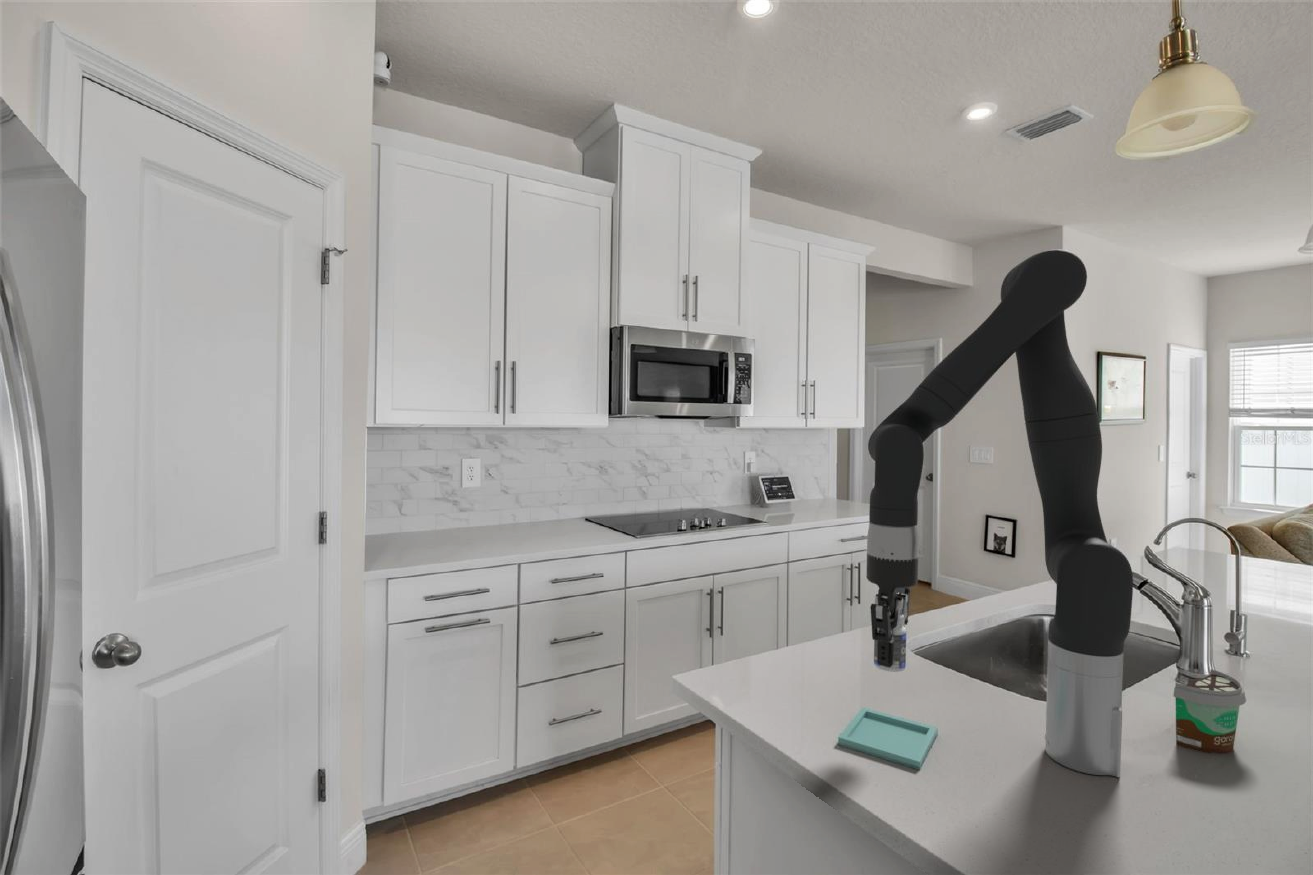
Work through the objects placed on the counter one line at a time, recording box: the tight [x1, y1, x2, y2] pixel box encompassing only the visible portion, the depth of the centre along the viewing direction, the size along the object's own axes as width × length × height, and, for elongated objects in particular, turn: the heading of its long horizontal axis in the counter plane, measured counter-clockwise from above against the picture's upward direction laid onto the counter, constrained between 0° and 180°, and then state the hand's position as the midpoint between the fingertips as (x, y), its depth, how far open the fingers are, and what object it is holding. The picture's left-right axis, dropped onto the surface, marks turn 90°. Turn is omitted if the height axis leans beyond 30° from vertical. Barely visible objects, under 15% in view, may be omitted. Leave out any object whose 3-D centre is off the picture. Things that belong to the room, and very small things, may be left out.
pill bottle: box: [873, 613, 907, 673], centre depth 99 cm, size 5×5×8 cm
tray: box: [837, 706, 939, 771], centre depth 100 cm, size 12×12×1 cm
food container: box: [1173, 668, 1247, 755], centre depth 98 cm, size 12×6×10 cm, turn 118°
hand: (890, 659), depth 99 cm, fingers closed on pill bottle, 4 cm apart
